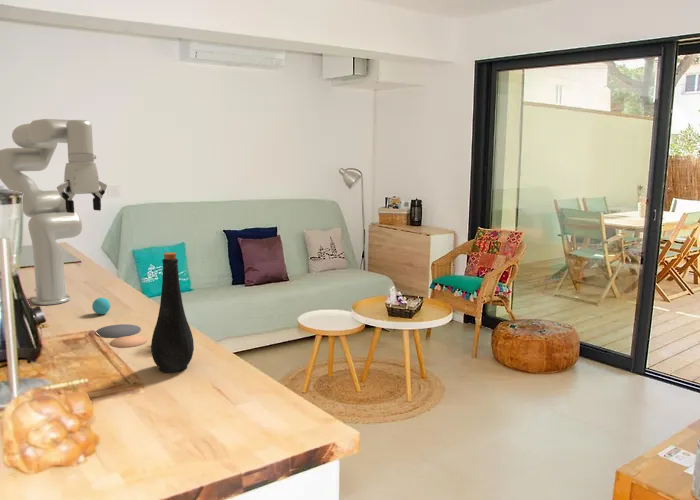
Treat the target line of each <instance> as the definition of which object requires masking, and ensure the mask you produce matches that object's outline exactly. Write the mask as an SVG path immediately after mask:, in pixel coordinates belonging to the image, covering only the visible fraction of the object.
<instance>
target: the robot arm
mask: <svg viewBox="0 0 700 500" xmlns="http://www.w3.org/2000/svg"><path fill="white" fill-rule="evenodd" d="M92 126H93V125H92V123H91V121H89V120H86V119H85V120H84V119H59V118H56V119H55V118H40V119H34V120H32V121H31V122H30V123H24V124H21V125H20V124H19V125H18V126H16V127H15V128H14V129H13V130H12V133H11V138H12V141H13V143H14V144H15V145H17V146H18V147H9V148H3V149H0V181H1V182H2V183H3V185H4V186H6V188H7V189H8V190H9V191H10V190H13V191H18V192H22V193H24V195H23V211H22V213H23V214H24V215H25V216H26V217H28V218H30V219H29V220H28V225H27V226H28V232H29V237H30V240H31V244H32V245H31V246H32V253H33V254H32V255H33V267H34V281H35V282H34V283H35V284H34V285H35V288H34V290H33V291H34V292H35V296H34V297H32V298H31V303H32V304H34V305H38V306H39V305H40V306H41V305H44V306H47V305H57V304H62V303H66V302H69V301H70V300H71V295H70V294H68V293H66V292H67V291H66V279H65V278H66V277H65V276H66V275H65V262H64V261H65V260H64V252H63V251H64V250H63V249H62V247H61V246H60V245H59V244H58V243H57V241H56V240H61V239H63V240H64V239H71V238H75V237H78V236H79V235H81V233H82V231H83V224H82V223H83V222H82V220H81V218H80V216H79V214H78V213H77V211H76V209H75V203H74V200H73V198H74V197H75V196H76V195H84V194H91V195H92V196H93V198H92V209H93V210H94V211H99V212H101V210H102V202H101V201H102V199H103V196H104V194H105V193H106V191H107V184H106V183H104V182H101V181H100V179H99V173H98V168H97V164H96V163H95V160H96V159H97V155H95V154H94V145H93V142H94V141H93V127H92ZM59 143H60V144H61V143H62V144H67V157H68V158H67V159H68V162H67V163H65V167H64V177H63V178H64V180H63V183H61V184H59V185H58V186H57V187H56V190H41V189H39V187H38V185H37V184H36V182H35V180H33V179H32V178H31V177H29V176H28V175H27V174H25V173H23V172H40V171H44V170H45V169H46V168H47V167H48V166H49V164H50V162H51V160H52V157H53V155H54V153H55V152H56V149H57V146H58V144H59Z"/></svg>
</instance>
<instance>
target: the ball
mask: <svg viewBox="0 0 700 500" xmlns="http://www.w3.org/2000/svg"><path fill="white" fill-rule="evenodd" d="M91 307H92V311H93V312H94V313H95V314H97V315H104V314H107V313H108V312H109V311H110V309H111V302H110V300H108V299H107V298H105V297H99V298H95V300H94V301H93V302H92V305H91Z"/></svg>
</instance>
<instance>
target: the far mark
mask: <svg viewBox="0 0 700 500" xmlns="http://www.w3.org/2000/svg"><path fill="white" fill-rule="evenodd" d="M147 341H148V339H147V338H146V337H144V336H140V335H130V336H125V337H117V338H114V339H112V340H111V341H110V342H109V344H110V345H111V346H112V347H115V348H132V347H133V348H134V347H138V346H141V345H143V344H145V343H147Z"/></svg>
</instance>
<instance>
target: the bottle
mask: <svg viewBox="0 0 700 500" xmlns="http://www.w3.org/2000/svg"><path fill="white" fill-rule="evenodd" d="M161 263H162V280H161V281H162V283H161V295H160V301H159V302H160V303H159V310H158V314H157V315H158V317H157V320H156V324H155V326H154V330H153V334H152V337H151V344H150V352H151V356H152V360H153V362H154V364H155V365H156V366H157V367H158V371H159V372H162V373H164V374H165V373H166V374H175V373H180V372H184V371H186V370H187V369H188V365H189V364H190V363H191V360H192V358H193V355H194V349H195V345H194V343H195V342H194V336H193V333H192V330H191V327H190V324H189V322H188V319H187V316H186V312H185V309H184V304H183V297H182V293H181V292H182V291H181V285H180V277H179V275H180V274H179V265H178V264H179V259H178V258H177V253H176V252H174V251H173V252H171V251H169V252H163V259H162V260H161Z"/></svg>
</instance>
